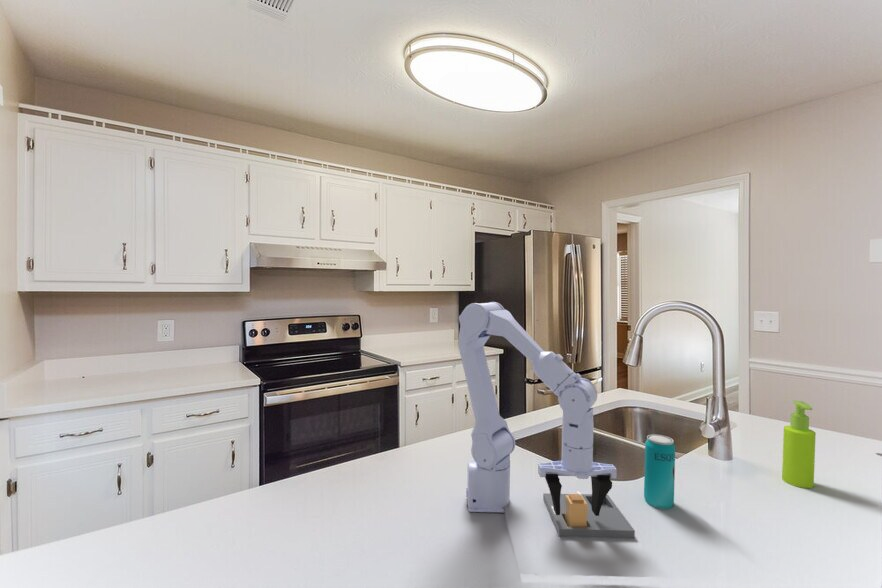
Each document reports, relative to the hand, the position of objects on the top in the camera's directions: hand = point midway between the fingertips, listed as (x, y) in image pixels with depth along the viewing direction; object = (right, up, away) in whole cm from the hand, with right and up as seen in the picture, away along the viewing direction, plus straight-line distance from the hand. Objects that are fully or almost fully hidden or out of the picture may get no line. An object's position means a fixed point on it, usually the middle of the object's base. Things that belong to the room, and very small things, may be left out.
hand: (576, 512), depth 80 cm
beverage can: (+21, -4, +10) cm, 24 cm away
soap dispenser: (+61, -4, +21) cm, 65 cm away
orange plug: (0, -3, 0) cm, 3 cm away
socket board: (+3, -4, +4) cm, 6 cm away
